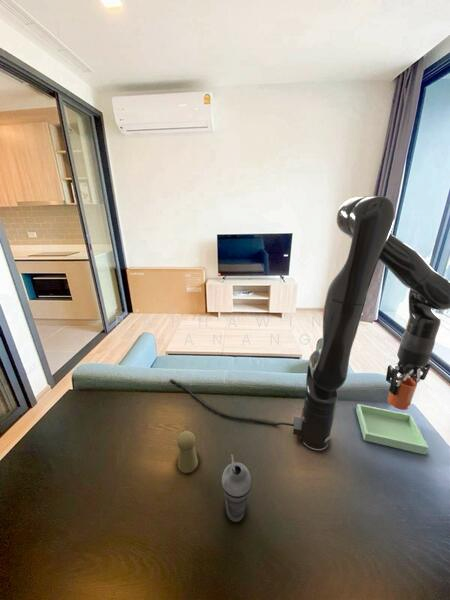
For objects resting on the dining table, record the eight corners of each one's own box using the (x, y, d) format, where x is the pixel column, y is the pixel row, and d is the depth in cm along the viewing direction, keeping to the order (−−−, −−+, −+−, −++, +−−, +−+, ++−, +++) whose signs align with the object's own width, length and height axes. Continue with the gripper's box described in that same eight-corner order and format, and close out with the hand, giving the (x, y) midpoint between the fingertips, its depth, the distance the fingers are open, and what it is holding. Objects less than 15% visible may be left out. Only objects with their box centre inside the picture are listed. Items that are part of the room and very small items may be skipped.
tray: (363, 440, 82) (365, 433, 81) (356, 410, 94) (357, 403, 93) (425, 454, 77) (428, 447, 76) (408, 421, 89) (411, 414, 88)
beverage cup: (248, 532, 58) (251, 475, 51) (218, 524, 60) (217, 468, 53) (251, 498, 65) (254, 444, 58) (224, 492, 66) (224, 439, 59)
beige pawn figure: (201, 458, 76) (200, 432, 72) (191, 476, 70) (189, 449, 67) (185, 450, 78) (183, 424, 74) (173, 467, 73) (171, 440, 69)
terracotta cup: (390, 407, 78) (397, 384, 74) (384, 394, 83) (391, 373, 80) (411, 411, 76) (420, 388, 73) (405, 398, 81) (412, 376, 78)
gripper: (423, 337, 77) (409, 380, 83) (385, 342, 74) (373, 387, 80) (448, 350, 70) (430, 396, 76) (407, 356, 67) (392, 404, 73)
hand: (401, 391), depth 78 cm, fingers closed on terracotta cup, 6 cm apart
